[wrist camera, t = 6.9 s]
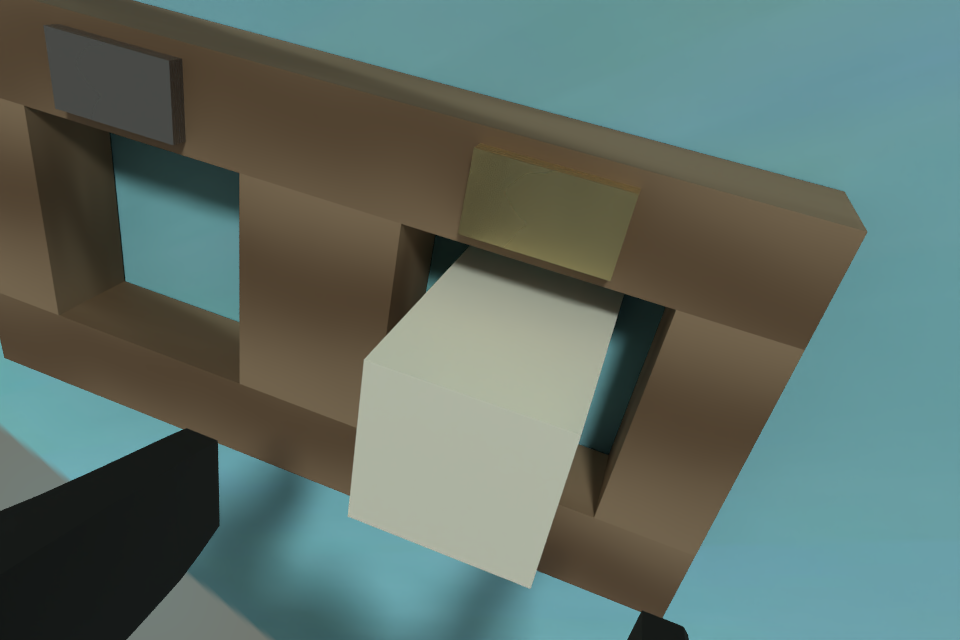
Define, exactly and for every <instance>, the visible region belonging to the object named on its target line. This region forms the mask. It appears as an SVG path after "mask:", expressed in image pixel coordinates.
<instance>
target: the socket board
mask: <svg viewBox="0 0 960 640" xmlns="http://www.w3.org/2000/svg"><path fill="white" fill-rule="evenodd" d="M51 24H61V25H65V26H68V27H72V28H75V29H79V30H82V31H86V32H89V33H93V34H96V35H100V36H104V37H107V38H111V39H114V40H118V41H121V42H125V43H128V44H132V45H135V46H139V47H142V48H146V49H149V50H153V51H157V52H160V53H164V54H167V55H171V56H174V57H178V58H181V59H182V65H183V88H184V111H185V135H186V142H183V143H179V144H176V145H171V144H167V143H164V142H161V141H158V140H155V139H151V138H148V137H145V136H142V135H139V134H135V133H132V132H129V131H126V130H122V129H119V128H116V127H113V126H110V125H106V124H103V123H100V122H97V121H94V120H90V119H87V118H84V117H81V116H77V115H74V114H71V113H68V112H65V111H61V110H58V109H55V104H54V97H53V90H52V83H51V76H50V69H49V61H48V54H47V47H46V40H45V33H44V26H43V25H51ZM109 132H110V133H113V134H116V135H120V136H123V137H126V138H129V139H132V140H136V141H139V142H142V143H145V144H148V145H152V146H155V147H158V148H161V149H164V150H167V151H171V152H174V153H177V154H180V155H183V156H187V157H190V158H193V159H196V160H199V161H203V162H206V163H209V164H212V165H215V166H219V167H222V168H225V169H228V170H231V171H234V172H238V173H239V269H240V322H237V321H234V320H231V319H228V318H226V317H223V316H220V315H217V314H215V313H212V312H209V311H206V310H203V309H201V308H198V307H195V306H192V305H190V304H187V303H184V302H181V301H178V300H176V299H173V298H170V297H167V296H165V295H162V294H159V293H156V292H153V291H151V290H148V289H145V288H142V287H139V286H137V285H134V284H131V283H128V282H126V281H125V279H124V270H123V260H122V250H121V240H120V230H119V221H118V211H117V201H116V191H115V182H114V172H113V162H112V152H111V142H110V133H109ZM480 143H482V144H485V145H489V146H492V147H496V148H499V149H503V150H506V151H510V152H513V153H517V154H520V155H524V156H528V157H531V158H535V159H538V160H542V161H545V162H549V163H552V164H556V165H559V166H563V167H566V168H570V169H573V170H577V171H581V172H584V173H588V174H591V175H595V176H598V177H602V178H605V179H609V180H612V181H616V182H619V183H623V184H626V185H630V186H634V187H637V188H641V190H640V193H639V196H638V199H637V202H636V205H635V208H634V211H633V214H632V217H631V220H630V223H629V227H628V230H627V233H626V236H625V239H624V242H623V245H622V248H621V251H620V254H619V257H618V260H617V263H616V266H615V269H614V272H613V275H612V278H611V281H608V280H605V279H601V278H598V277H595V276H592V275H589V274H585V273H582V272H579V271H576V270H572V269H569V268H566V267H563V266H560V265H556V264H553V263H550V262H547V261H544V260H540V259H537V258H534V257H531V256H527V255H524V254H521V253H518V252H515V251H511V250H508V249H505V248H502V247H499V246H495V245H492V244H489V243H486V242H482V241H479V240H476V239H473V238H470V237H466V236H463V235H460V234H458V231H459V226H460V220H461V215H462V209H463V204H464V199H465V193H466V188H467V182H468V177H469V172H470V166H471V161H472V155H473V150H474V147H476V146H477V145H478V144H480ZM435 234H436V235H439V236H442V237H445V238H448V239H452V240H455V241H458V242H461V243H464V244H467V245H471V246H474V247H477V248H480V249H483V250H487V251H490V252H493V253H496V254H499V255H503V256H506V257H509V258H512V259H515V260H519V261H522V262H525V263H528V264H531V265H534V266H538V267H541V268H544V269H547V270H550V271H554V272H557V273H560V274H563V275H566V276H570V277H573V278H576V279H579V280H582V281H586V282H589V283H592V284H595V285H598V286H602V287H605V288H608V289H611V290H614V291H617V292H621V293H624V294H627V295H630V296H633V297H637V298H640V299H643V300H646V301H649V302H653V303H656V304H659V305H662V306H665V310H664V313H663V315H662V318H661V320H660V323H659V326H658V328H657V331H656V333H655V336H654V339H653V341H652V344H651V346H650V349H649V352H648V354H647V357H646V359H645V362H644V365H643V367H642V370H641V372H640V375H639V378H638V380H637V383H636V385H635V388H634V391H633V393H632V396H631V398H630V401H629V404H628V406H627V409H626V411H625V414H624V417H623V419H622V422H621V424H620V427H619V430H618V432H617V435H616V437H615V440H614V443H613V445H612V448H611V450H610V453H609V455H607V454H604V453H601V452H598V451H596V450H593V449H590V448H587V447H585V446H582V445H579V444H578V446H577V449H576V452H575V455H574V458H573V461H572V464H571V468H570V471H569V474H568V477H567V480H566V483H565V486H564V489H563V492H562V495H561V498H560V501H559V504H558V507H557V510H556V513H555V516H554V519H553V522H552V525H551V528H550V531H549V534H548V537H547V540H546V543H545V546H544V549H543V552H542V555H541V558H540V561H539V564H538V567H537V571H540V572H542V573H545V574H547V575H550V576H552V577H555V578H557V579H560V580H562V581H565V582H567V583H570V584H572V585H575V586H577V587H580V588H582V589H585V590H587V591H590V592H592V593H595V594H597V595H600V596H602V597H605V598H607V599H610V600H612V601H615V602H617V603H620V604H622V605H625V606H627V607H630V608H632V609H635V610H637V611H640V612H641V611H642V610H643V611H645V612H648V613H650V614H653V615H655V616H658V617H660V618H663V616H664V614H665V612H666V610H667V608H668V606H669V604H670V603H671V601H672V599H673V597H674V595H675V593H676V591H677V589H678V588H679V586H680V584H681V582H682V580H683V578H684V576H685V574H686V572H687V571H688V569H689V567H690V565H691V563H692V561H693V559H694V557H695V556H696V554H697V552H698V550H699V548H700V546H701V544H702V542H703V540H704V539H705V537H706V535H707V533H708V531H709V529H710V527H711V525H712V523H713V522H714V520H715V518H716V516H717V514H718V512H719V510H720V508H721V507H722V505H723V503H724V501H725V499H726V497H727V495H728V493H729V491H730V490H731V488H732V486H733V484H734V482H735V480H736V478H737V476H738V475H739V473H740V471H741V469H742V467H743V465H744V463H745V461H746V459H747V458H748V456H749V454H750V452H751V450H752V448H753V446H754V444H755V443H756V441H757V439H758V437H759V435H760V433H761V431H762V429H763V427H764V426H765V424H766V422H767V420H768V418H769V416H770V414H771V412H772V411H773V409H774V407H775V405H776V403H777V401H778V399H779V397H780V395H781V394H782V392H783V390H784V388H785V386H786V384H787V382H788V380H789V379H790V377H791V375H792V373H793V371H794V369H795V367H796V365H797V363H798V362H799V360H800V358H801V356H802V354H803V352H804V350H805V348H806V347H807V345H808V343H809V341H810V339H811V337H812V335H813V333H814V331H815V330H816V328H817V326H818V324H819V322H820V320H821V318H822V316H823V315H824V313H825V311H826V309H827V307H828V305H829V303H830V301H831V299H832V298H833V296H834V294H835V292H836V290H837V288H838V286H839V284H840V283H841V281H842V279H843V277H844V275H845V273H846V271H847V269H848V267H849V266H850V264H851V262H852V260H853V258H854V256H855V254H856V252H857V251H858V249H859V247H860V245H861V243H862V241H863V239H864V237H865V235H866V234H867V230H866V228H865V227H864V225H863V223H862V221H861V220H860V218H859V216H858V214H857V213H856V211H855V209H854V208H853V206H852V204H851V202H850V201H849V199H848V197H847V195H846V194H845V192H844V191H840V190H836V189H832V188H829V187H825V186H821V185H817V184H814V183H810V182H806V181H803V180H799V179H795V178H791V177H788V176H784V175H780V174H777V173H773V172H769V171H765V170H762V169H758V168H754V167H751V166H747V165H743V164H739V163H736V162H732V161H728V160H725V159H721V158H717V157H713V156H710V155H706V154H702V153H698V152H695V151H691V150H687V149H684V148H680V147H676V146H672V145H669V144H665V143H661V142H658V141H654V140H650V139H646V138H643V137H639V136H635V135H632V134H628V133H624V132H620V131H617V130H613V129H609V128H605V127H602V126H598V125H594V124H591V123H587V122H583V121H579V120H576V119H572V118H568V117H565V116H561V115H557V114H553V113H550V112H546V111H542V110H539V109H535V108H531V107H527V106H524V105H520V104H516V103H512V102H509V101H505V100H501V99H498V98H494V97H490V96H486V95H483V94H479V93H475V92H472V91H468V90H464V89H460V88H457V87H453V86H449V85H446V84H442V83H438V82H434V81H431V80H427V79H423V78H420V77H416V76H412V75H408V74H405V73H401V72H397V71H393V70H390V69H386V68H382V67H379V66H375V65H371V64H367V63H364V62H360V61H356V60H353V59H349V58H345V57H341V56H338V55H334V54H330V53H327V52H323V51H319V50H315V49H312V48H308V47H304V46H300V45H297V44H293V43H289V42H286V41H282V40H278V39H274V38H271V37H267V36H263V35H260V34H256V33H252V32H248V31H245V30H241V29H237V28H234V27H230V26H226V25H222V24H219V23H215V22H211V21H207V20H204V19H200V18H196V17H193V16H189V15H185V14H181V13H178V12H174V11H170V10H167V9H163V8H159V7H155V6H152V5H148V4H144V3H141V2H137V1H133V0H0V340H1V345H2V349H3V354H4V358H6V359H9V360H11V361H14V362H16V363H19V364H21V365H24V366H26V367H29V368H31V369H34V370H36V371H39V372H41V373H44V374H46V375H49V376H51V377H54V378H56V379H59V380H61V381H64V382H66V383H69V384H71V385H74V386H76V387H79V388H81V389H84V390H86V391H89V392H91V393H94V394H96V395H99V396H101V397H104V398H106V399H109V400H111V401H114V402H116V403H119V404H121V405H124V406H126V407H129V408H131V409H134V410H137V411H139V412H142V413H144V414H147V415H149V416H152V417H154V418H157V419H159V420H162V421H164V422H167V423H169V424H172V425H174V426H177V427H179V428H182V429H186V428H188V429H190V430H193V431H195V432H198V433H200V434H203V435H205V436H208V437H210V438H213V439H215V440H218V443H219V444H222V445H224V446H227V447H229V448H232V449H234V450H237V451H239V452H242V453H244V454H247V455H249V456H252V457H254V458H257V459H259V460H262V461H264V462H267V463H269V464H272V465H274V466H277V467H279V468H282V469H284V470H287V471H289V472H292V473H294V474H297V475H299V476H302V477H304V478H307V479H309V480H312V481H314V482H317V483H319V484H322V485H324V486H327V487H329V488H332V489H334V490H337V491H339V492H342V493H344V494H347V495H349V496H350V490H351V480H352V471H353V461H354V451H355V442H356V432H357V422H358V412H359V403H360V393H361V383H362V374H363V364H364V359H365V358H366V357H367V356H368V355H369V354H370V352H371V351H372V350H373V349H374V348H375V347H376V346H377V345H378V344H379V343H380V342H381V341H382V340H383V339H384V337H385V336H386V335H387V334H388V333H389V332H390V331H391V330H392V329H393V328H394V327H395V326H396V325H397V323H398V322H399V321H400V320H401V319H402V318H403V317H404V316H405V315H406V314H407V313H408V312H409V311H410V310H411V308H412V307H413V306H414V305H415V304H416V303H417V302H418V301H419V300H420V299H421V298H422V297H423V296H424V295H425V293H426V288H427V282H428V275H429V269H430V263H431V257H432V251H433V245H434V239H435Z"/></svg>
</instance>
